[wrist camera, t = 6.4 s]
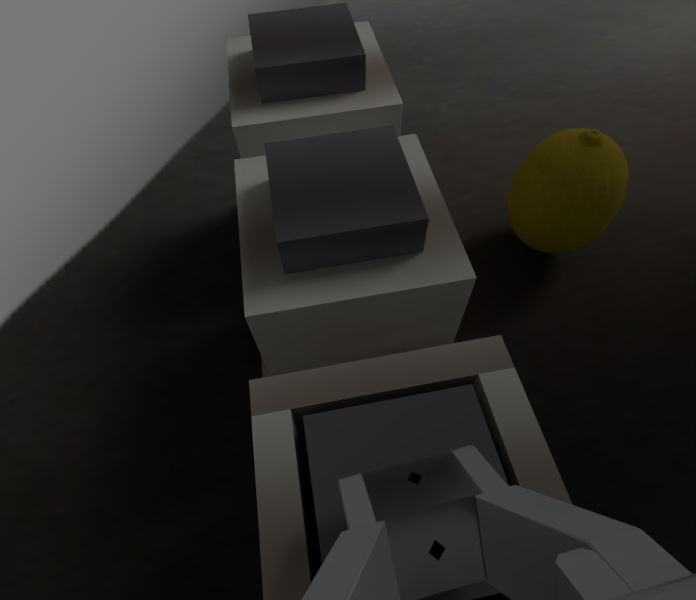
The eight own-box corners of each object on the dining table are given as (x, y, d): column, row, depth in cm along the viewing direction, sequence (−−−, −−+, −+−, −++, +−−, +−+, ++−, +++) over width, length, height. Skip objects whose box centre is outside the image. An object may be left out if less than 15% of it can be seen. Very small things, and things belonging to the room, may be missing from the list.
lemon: (601, 273, 26) (683, 164, 20) (509, 285, 26) (560, 179, 19) (564, 206, 29) (624, 91, 23) (481, 216, 29) (517, 103, 22)
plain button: (322, 473, 17) (302, 415, 11) (437, 451, 17) (472, 384, 12) (343, 617, 14) (331, 631, 9) (476, 586, 15) (543, 583, 9)
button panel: (251, 200, 30) (195, 7, 20) (380, 180, 31) (389, -16, 21) (293, 666, 17) (190, 775, 7) (522, 614, 18) (734, 642, 8)
